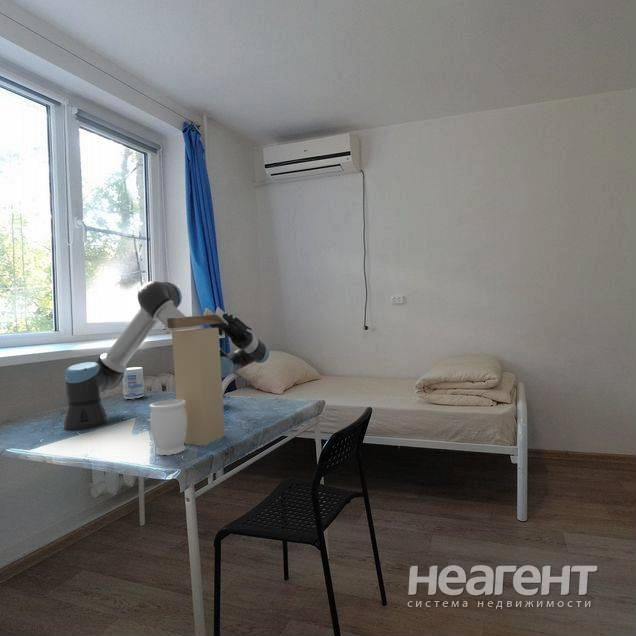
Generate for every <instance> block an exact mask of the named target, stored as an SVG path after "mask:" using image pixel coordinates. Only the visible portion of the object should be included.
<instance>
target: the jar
mask: <svg viewBox="0 0 636 636" xmlns="http://www.w3.org/2000/svg"><path fill="white" fill-rule="evenodd" d="M185 404H186V402H185V400H181V399H176V398H175V399H174V398H173V399H164V400H159V401H155V402H151V403H150V404H148V407H149V410H151V412H150V418H149V420H150V421H149V422H150V423H149V425H150V432H151V434H152V440H153V443H154V445H155V447H156V448H157V449H156V451H155V453H156V454H157V456H163V455H167V456H173V455H172V454H174V455H177V453H178V454H180V452H181V453H183V452H184V451H186V446H185V444H184V442H185V439H186V430H187V415H186V410H185V408H184V405H185ZM182 451H183V452H182Z"/></svg>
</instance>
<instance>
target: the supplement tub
mask: <svg viewBox="0 0 636 636" xmlns="http://www.w3.org/2000/svg"><path fill="white" fill-rule="evenodd" d="M126 368H127V369H126V371H125V372H124V378H123V380H122V390H123V391H122V394H123V398H125V399H124V400H127V399H132V400H135V399H134V398H140V397H143V396H144V397H145V382H144V372H143V371H144V369H143V367H141V366H139V367H138V366H133V367H126ZM144 397H143V398H144ZM140 399H141V398H140Z"/></svg>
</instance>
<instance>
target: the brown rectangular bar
mask: <svg viewBox="0 0 636 636" xmlns="http://www.w3.org/2000/svg"><path fill="white" fill-rule="evenodd" d="M226 314H227V315H228V316H229V313H226ZM217 323H224V322H223V321H222V320H221V319H220V318H218V317H217V316H216V315H215V313H214V314H213V315H204V314H203V315H190V316H186V317H177V318H167V324H168V328H167V329H169V328H182V327H191V326H197V327H198V326H207V325H208V326H209V324H217Z"/></svg>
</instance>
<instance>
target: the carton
mask: <svg viewBox="0 0 636 636" xmlns="http://www.w3.org/2000/svg"><path fill="white" fill-rule="evenodd" d="M171 341H172V343H171V344H172V356H173V371H174V385H175V386H174V387H175V399H181V400H185V402H186V404H185V405H184V408H185V410H186V415H187V430H186V439H185V442H184V443H185V444H184V445H190V444H199V445H198V446H203V445H206V444H208V443H210V442H212V443H213V441H214V442H215V440H216V441H217V440H220V439H221V438H224V437H226V428H225V413H224V412H225V411H224V410H225V409H224V400H223V399H224V398H223V395H224V394H223V383H222V382H223V381H222V379H223V378H221V362H220V348H221V347H220V346H221V345H220V335H219V330H218V328H212V327H202V328H201V327H198V328H193V329H185V330H177V331H171ZM210 444H211V443H210ZM208 445H209V444H208ZM206 446H207V445H206Z"/></svg>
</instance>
